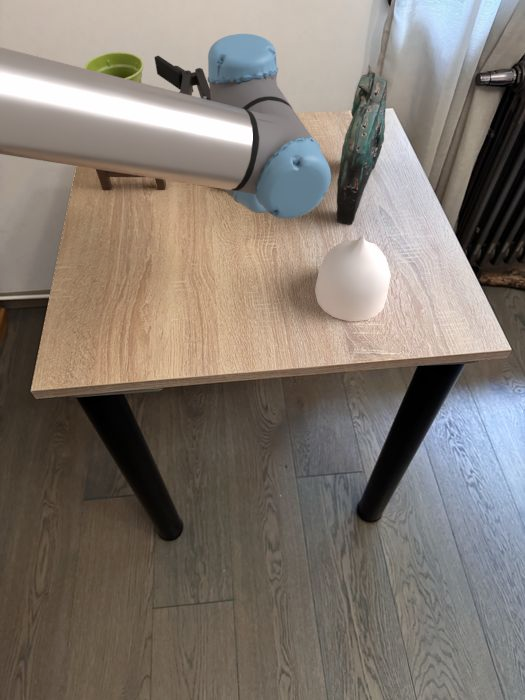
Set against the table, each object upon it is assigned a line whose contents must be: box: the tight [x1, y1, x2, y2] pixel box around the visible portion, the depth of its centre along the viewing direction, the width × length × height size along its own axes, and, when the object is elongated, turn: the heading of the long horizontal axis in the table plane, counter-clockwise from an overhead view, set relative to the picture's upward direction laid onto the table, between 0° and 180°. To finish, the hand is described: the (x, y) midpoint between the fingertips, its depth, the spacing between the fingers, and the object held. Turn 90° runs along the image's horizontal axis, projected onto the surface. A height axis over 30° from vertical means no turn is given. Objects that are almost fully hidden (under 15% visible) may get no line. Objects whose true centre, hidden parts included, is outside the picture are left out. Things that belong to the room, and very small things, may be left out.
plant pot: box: [83, 51, 144, 83], centre depth 84 cm, size 9×9×9 cm
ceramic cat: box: [335, 65, 388, 225], centre depth 84 cm, size 20×6×20 cm, turn 164°
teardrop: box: [314, 234, 392, 323], centre depth 73 cm, size 11×11×12 cm
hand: (121, 78), depth 80 cm, fingers open, 13 cm apart
